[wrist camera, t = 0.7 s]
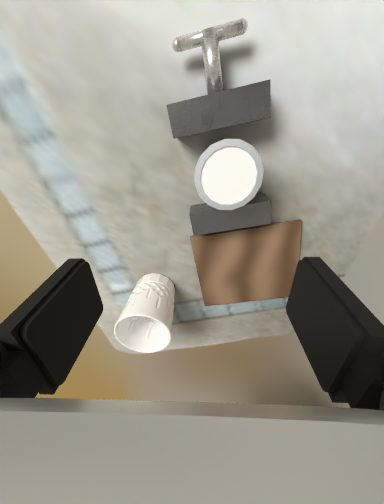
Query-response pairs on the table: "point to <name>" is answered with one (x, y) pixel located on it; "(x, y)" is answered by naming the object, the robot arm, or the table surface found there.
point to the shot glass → (228, 174)
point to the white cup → (147, 315)
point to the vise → (221, 122)
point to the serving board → (247, 262)
